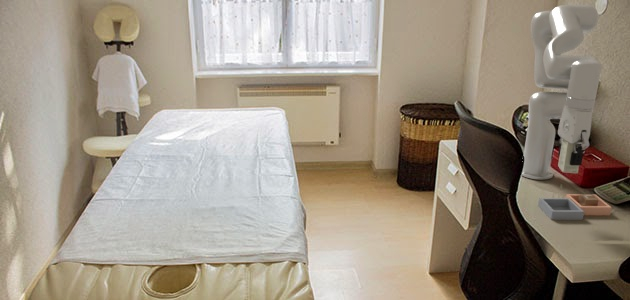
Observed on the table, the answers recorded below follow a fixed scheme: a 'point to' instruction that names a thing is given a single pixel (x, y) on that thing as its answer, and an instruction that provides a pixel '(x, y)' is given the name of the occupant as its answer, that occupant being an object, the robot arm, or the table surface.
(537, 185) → the table surface
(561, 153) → the skincare box
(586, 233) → the table surface
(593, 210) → the bin terracotta
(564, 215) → the bin grey
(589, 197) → the letter cube
